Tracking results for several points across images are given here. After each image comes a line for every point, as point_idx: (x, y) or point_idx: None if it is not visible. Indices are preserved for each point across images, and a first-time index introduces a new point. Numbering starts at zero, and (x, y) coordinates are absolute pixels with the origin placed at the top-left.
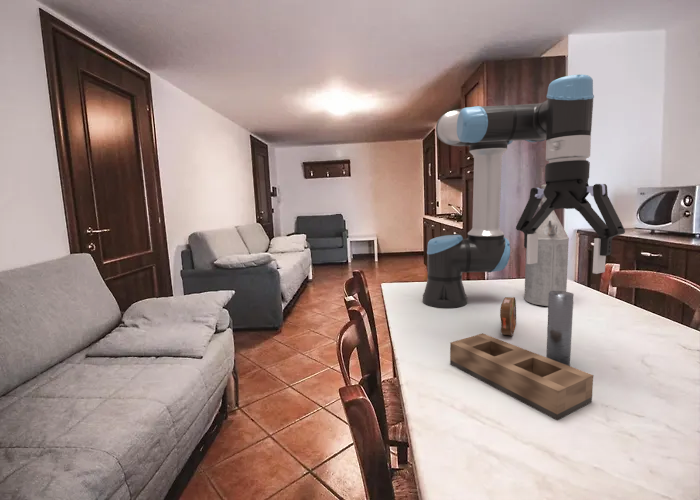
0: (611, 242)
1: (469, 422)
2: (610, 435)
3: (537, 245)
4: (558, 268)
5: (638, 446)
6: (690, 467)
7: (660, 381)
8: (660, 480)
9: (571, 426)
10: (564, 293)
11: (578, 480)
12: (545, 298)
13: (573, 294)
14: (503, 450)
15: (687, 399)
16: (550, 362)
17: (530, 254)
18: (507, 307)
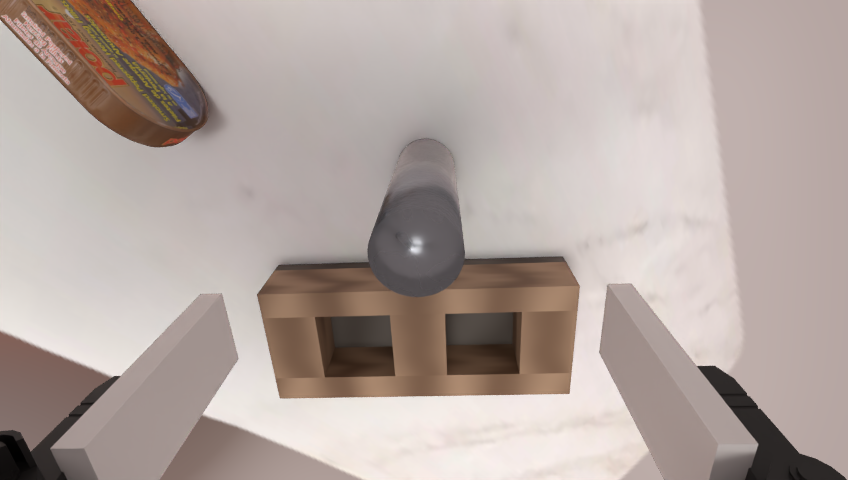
0: (784, 439)
1: (479, 454)
2: None
3: (156, 372)
4: None
5: (668, 317)
6: (735, 306)
7: (623, 9)
8: (710, 362)
9: (578, 351)
10: (425, 245)
11: (639, 434)
12: None
13: (457, 231)
14: (549, 460)
15: (693, 63)
16: (486, 305)
17: (209, 395)
18: (124, 113)
